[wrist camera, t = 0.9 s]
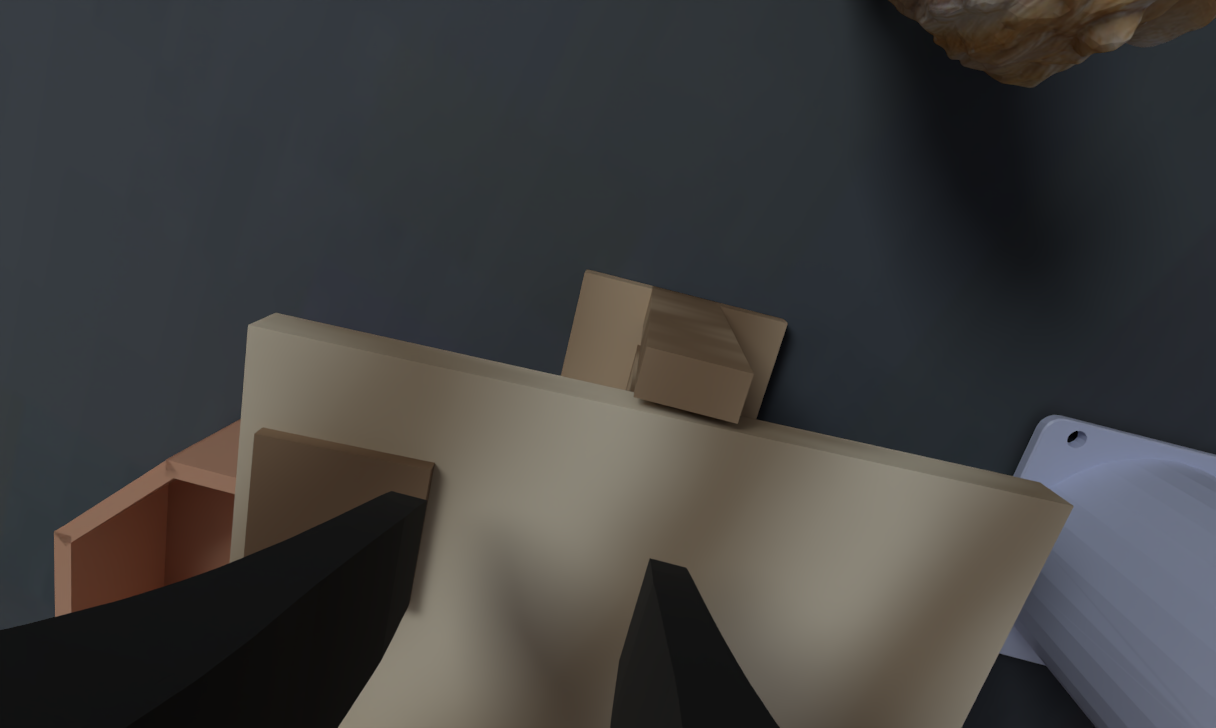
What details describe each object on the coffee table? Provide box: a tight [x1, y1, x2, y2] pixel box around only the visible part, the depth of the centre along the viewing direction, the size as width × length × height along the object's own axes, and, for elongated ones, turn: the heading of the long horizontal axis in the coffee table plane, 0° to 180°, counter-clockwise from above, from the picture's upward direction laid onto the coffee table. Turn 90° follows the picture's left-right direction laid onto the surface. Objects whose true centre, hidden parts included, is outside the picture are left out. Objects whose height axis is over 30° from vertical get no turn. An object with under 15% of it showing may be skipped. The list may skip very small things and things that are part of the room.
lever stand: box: [561, 269, 788, 424], centre depth 17 cm, size 6×17×8 cm, turn 166°
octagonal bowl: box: [54, 419, 241, 617], centre depth 20 cm, size 11×11×4 cm
